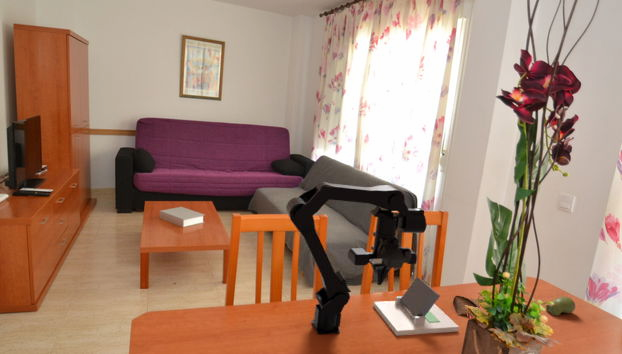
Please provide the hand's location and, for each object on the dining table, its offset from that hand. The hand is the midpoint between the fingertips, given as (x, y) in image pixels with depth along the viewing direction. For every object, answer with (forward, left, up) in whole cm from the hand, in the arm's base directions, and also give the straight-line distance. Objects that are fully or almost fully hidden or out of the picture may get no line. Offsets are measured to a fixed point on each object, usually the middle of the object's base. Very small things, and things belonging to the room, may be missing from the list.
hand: (378, 284), depth 116 cm
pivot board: (+15, +3, -13) cm, 20 cm away
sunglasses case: (+40, +3, -14) cm, 42 cm away
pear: (+69, +2, -13) cm, 71 cm away
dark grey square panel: (+13, +3, -11) cm, 17 cm away
